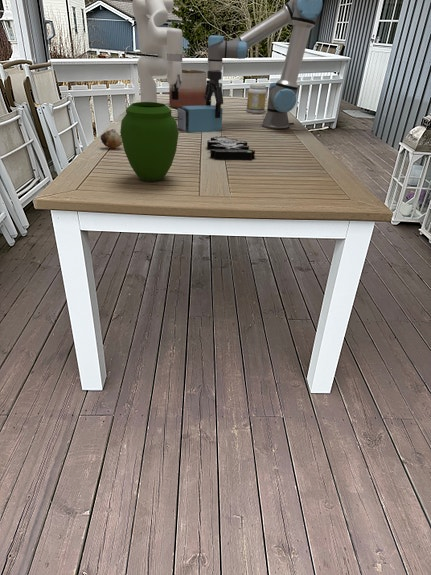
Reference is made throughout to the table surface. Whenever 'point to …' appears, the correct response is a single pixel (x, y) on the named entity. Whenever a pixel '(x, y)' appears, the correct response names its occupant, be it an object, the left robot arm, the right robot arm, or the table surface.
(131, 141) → the vase
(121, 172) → the table surface
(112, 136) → the seashell
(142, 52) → the left robot arm
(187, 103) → the planter
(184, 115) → the drawer
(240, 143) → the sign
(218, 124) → the blue storage bin
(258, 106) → the supplement tub
